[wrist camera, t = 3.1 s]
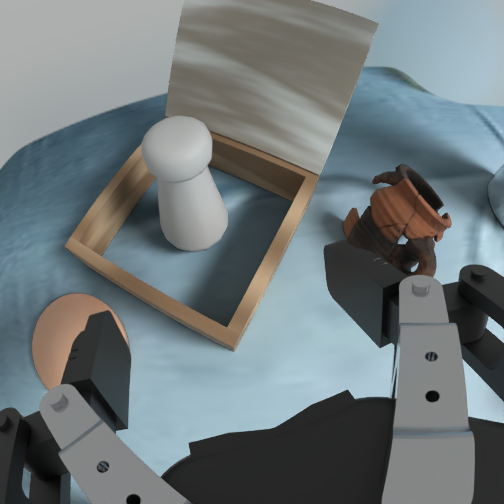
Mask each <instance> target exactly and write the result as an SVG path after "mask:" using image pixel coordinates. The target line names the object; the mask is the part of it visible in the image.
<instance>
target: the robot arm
mask: <svg viewBox="0 0 504 504" xmlns="http://www.w3.org/2000/svg"><path fill="white" fill-rule="evenodd" d="M494 175H495V177H494V178H493V179H492V180H491V181H490V182H489V185H488V197H489V201H490V204H491V207H492V209H493V211H494V213H495V215H496V217H497V218H498V220H499V221H500V223H501V224H502V225H503V226H504V164H503V166H502V167H501V168H500V169H499V170H498V171H497V172H496V173H495V174H494ZM324 260H325V270H326V280H327V287H328V290H329V292H330V294H331V296H332V298H333V299H334V300H335V301H336V302H337V303H338V304H339V305H340V306H341V307H342V308H343V309H344V310H345V311H346V313H347V314H348V315H349V316H350V317H351V318H352V319H353V320H354V321H355V322H356V323H357V324H358V325H359V326H360V327H361V328H362V330H363V331H364V332H365V333H366V334H367V335H368V336H369V337H370V338H371V339H372V340H373V341H374V342H375V343H376V345H377V346H378V347H379V348H381V347H384V346H386V345H388V344H390V343H393V344H394V354H393V367H392V378H391V388H390V397H389V398H388V397H366V398H358V399H354V397H353V396H352V395H351V393H350V392H349V390H346V391H344V392H341V393H339V394H337V395H334V396H332V397H330V398H327V399H325V400H322V401H320V402H317V403H315V404H312V405H310V406H309V407H307V408H306V409H304V410H303V411H301V412H300V413H298V414H296V415H295V416H293V417H292V418H290V419H289V420H287V421H285V422H284V423H282V424H280V425H279V426H277V427H275V428H272V429H265V430H256V431H245V432H233V433H226V434H222V435H219V436H215V437H211V438H207V439H203V440H199V441H195V442H191V443H189V448H190V454H191V455H189V456H187V457H185V458H183V459H182V460H180V461H178V462H177V463H175V464H174V465H173V466H171V467H170V468H169V469H168V470H167V471H166V472H165V473H164V474H163V475H162V476H161V477H159V476H158V475H157V474H156V473H155V472H154V471H153V470H151V469H150V468H149V467H148V466H147V465H146V464H145V463H144V462H143V461H142V460H141V459H140V458H139V457H138V456H137V455H135V454H134V453H133V452H132V451H131V450H130V449H129V448H128V447H127V446H126V445H125V444H124V443H123V441H122V440H121V439H120V438H119V437H118V436H117V435H116V431H117V430H123V429H128V408H129V385H130V369H131V354H130V350H129V347H128V345H127V342H126V341H125V339H124V337H123V335H122V333H121V331H120V329H119V327H118V325H117V323H116V321H115V319H114V317H113V315H112V313H111V312H110V311H109V310H106V311H102V312H99V313H95V314H92V315H89V317H88V320H87V323H86V326H85V330H84V331H81V332H80V333H79V335H78V336H77V337H76V338H75V340H74V341H73V344H72V347H71V350H70V351H71V353H69V356H68V361H67V363H66V366H65V370H64V373H63V376H62V380H61V384H60V385H58V386H56V387H54V388H52V389H51V390H49V391H48V392H47V393H46V394H45V395H44V397H43V398H42V400H41V402H40V407H39V409H40V411H38V412H35V413H33V414H31V415H29V416H26V417H24V418H23V416H22V415H21V414H20V413H19V412H18V411H17V410H16V409H15V408H6V409H3V410H2V411H0V504H70V479H71V475H72V477H73V478H74V480H75V481H76V482H77V484H78V485H79V487H80V488H81V490H82V491H83V492H84V494H85V495H86V496H87V498H88V499H89V500H90V502H91V503H92V504H504V423H499V422H493V421H488V420H483V419H478V418H473V417H468V409H467V395H466V385H465V376H464V367H463V360H464V361H465V362H466V363H467V364H468V365H469V366H470V367H471V368H472V369H473V370H474V371H475V372H476V373H477V374H478V375H479V376H480V377H481V378H482V379H483V380H484V381H485V382H486V383H487V384H488V385H489V386H490V387H491V389H492V390H493V391H494V392H495V393H496V394H497V395H498V396H499V397H500V398H501V399H502V400H503V401H504V343H503V342H502V341H501V340H499V339H498V338H497V337H496V336H495V335H494V334H492V333H491V332H490V331H489V330H488V329H487V328H486V324H487V321H488V317H491V318H492V319H493V320H494V321H496V322H497V323H498V324H499V325H501V326H502V327H503V329H504V277H503V276H501V275H500V274H498V273H497V272H495V271H493V270H492V269H490V268H488V267H486V266H483V265H467V266H465V267H463V268H462V269H461V270H460V274H459V281H458V282H454V283H449V284H444V285H441V283H440V282H439V281H438V280H436V279H435V278H433V277H430V276H425V275H414V276H409V277H408V276H407V275H406V274H404V273H403V272H401V271H400V270H398V269H397V268H395V267H394V266H392V265H391V264H389V263H387V262H386V261H385V260H383V259H381V258H380V257H379V256H377V255H376V254H374V253H373V252H371V251H367V250H364V249H360V248H359V249H357V248H355V247H354V246H352V245H351V244H350V243H348V242H347V241H345V240H342V241H339V242H335V243H332V244H329V245H326V246H325V247H324ZM462 359H463V360H462ZM23 468H25V469H27V470H28V471H29V472H30V473H31V482H30V492H29V499H28V498H27V497H26V496H25V494H24V492H23V490H22V476H23Z"/></svg>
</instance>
